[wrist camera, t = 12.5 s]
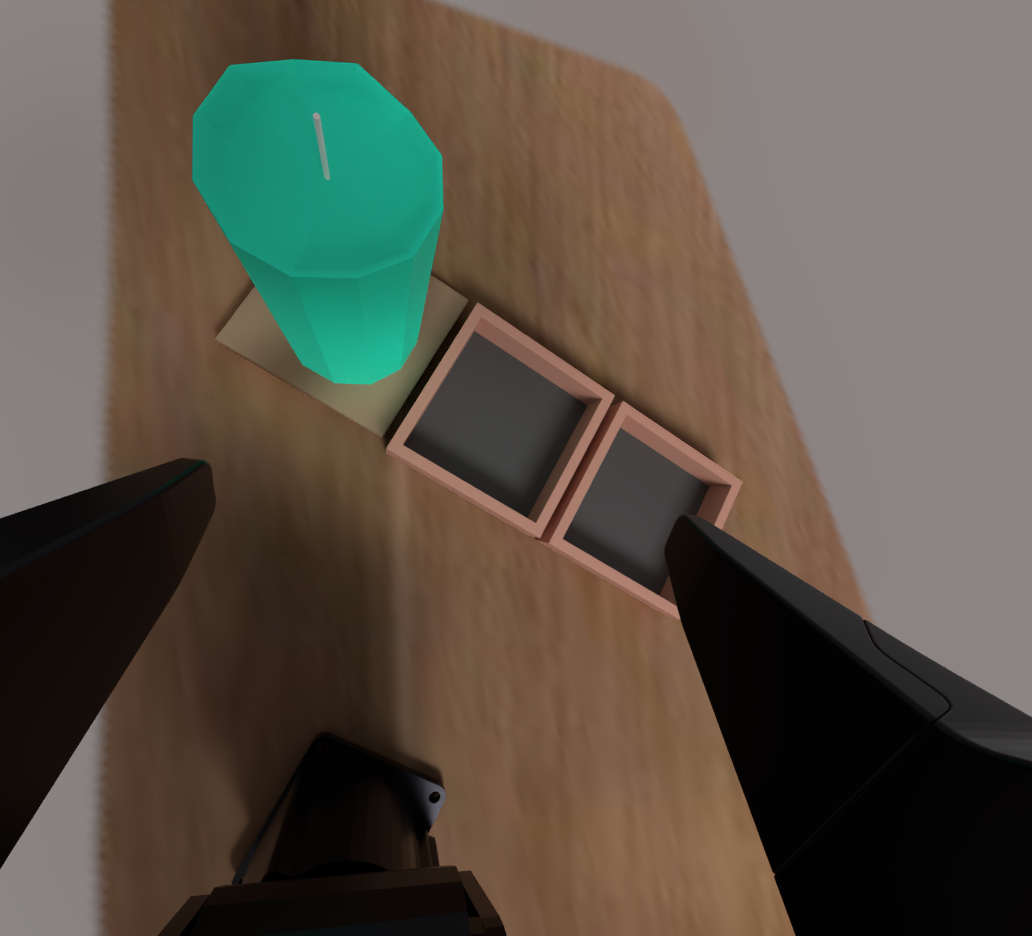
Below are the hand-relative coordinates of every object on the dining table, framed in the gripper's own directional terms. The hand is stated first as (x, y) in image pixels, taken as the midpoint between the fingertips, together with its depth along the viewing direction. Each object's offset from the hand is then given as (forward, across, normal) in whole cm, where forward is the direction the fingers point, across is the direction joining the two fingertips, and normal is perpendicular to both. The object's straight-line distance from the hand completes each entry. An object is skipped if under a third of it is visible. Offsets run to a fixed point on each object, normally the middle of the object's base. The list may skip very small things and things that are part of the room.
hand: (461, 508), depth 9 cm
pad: (+16, +5, +1) cm, 17 cm away
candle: (+15, +5, +1) cm, 16 cm away
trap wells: (+13, -6, +6) cm, 16 cm away
